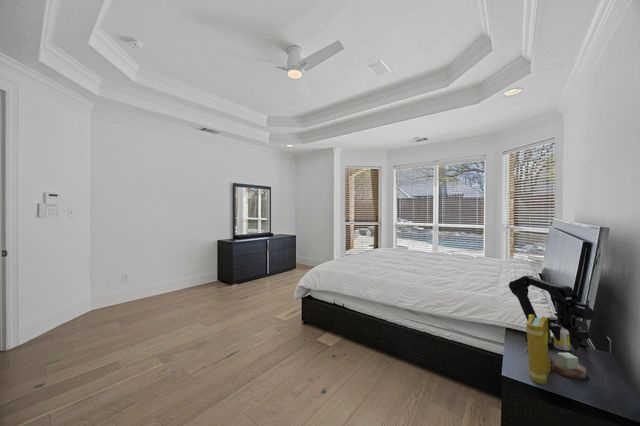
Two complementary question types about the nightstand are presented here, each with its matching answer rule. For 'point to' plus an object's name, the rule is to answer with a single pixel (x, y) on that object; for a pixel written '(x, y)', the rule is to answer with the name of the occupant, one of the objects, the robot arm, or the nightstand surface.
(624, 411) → the nightstand surface
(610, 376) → the nightstand surface
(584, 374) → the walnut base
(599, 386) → the nightstand surface
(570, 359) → the sage block
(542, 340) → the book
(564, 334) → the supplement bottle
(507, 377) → the nightstand surface
